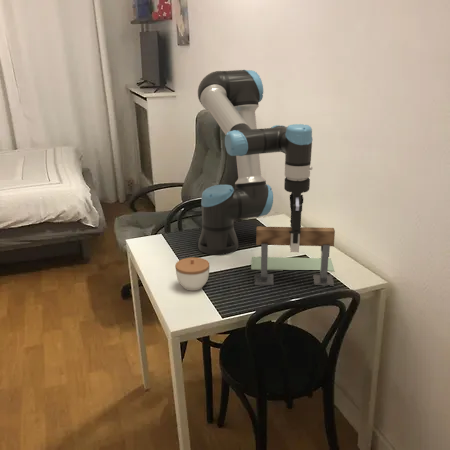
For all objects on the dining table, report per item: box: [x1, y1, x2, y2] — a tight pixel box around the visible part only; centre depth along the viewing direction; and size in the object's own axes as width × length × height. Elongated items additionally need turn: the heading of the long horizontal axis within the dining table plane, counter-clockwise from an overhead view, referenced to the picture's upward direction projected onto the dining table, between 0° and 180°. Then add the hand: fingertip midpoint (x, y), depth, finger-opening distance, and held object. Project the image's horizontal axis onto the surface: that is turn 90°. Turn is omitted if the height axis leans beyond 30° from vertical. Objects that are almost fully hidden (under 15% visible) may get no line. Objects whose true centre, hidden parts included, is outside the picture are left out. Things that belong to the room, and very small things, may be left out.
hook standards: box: [254, 243, 335, 287], centre depth 158 cm, size 25×6×14 cm, turn 85°
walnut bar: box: [255, 225, 336, 247], centre depth 155 cm, size 24×3×5 cm, turn 85°
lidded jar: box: [174, 256, 210, 292], centre depth 156 cm, size 11×11×9 cm
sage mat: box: [250, 256, 335, 272], centre depth 172 cm, size 28×10×1 cm, turn 85°
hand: (294, 249), depth 156 cm, fingers closed on walnut bar, 3 cm apart
